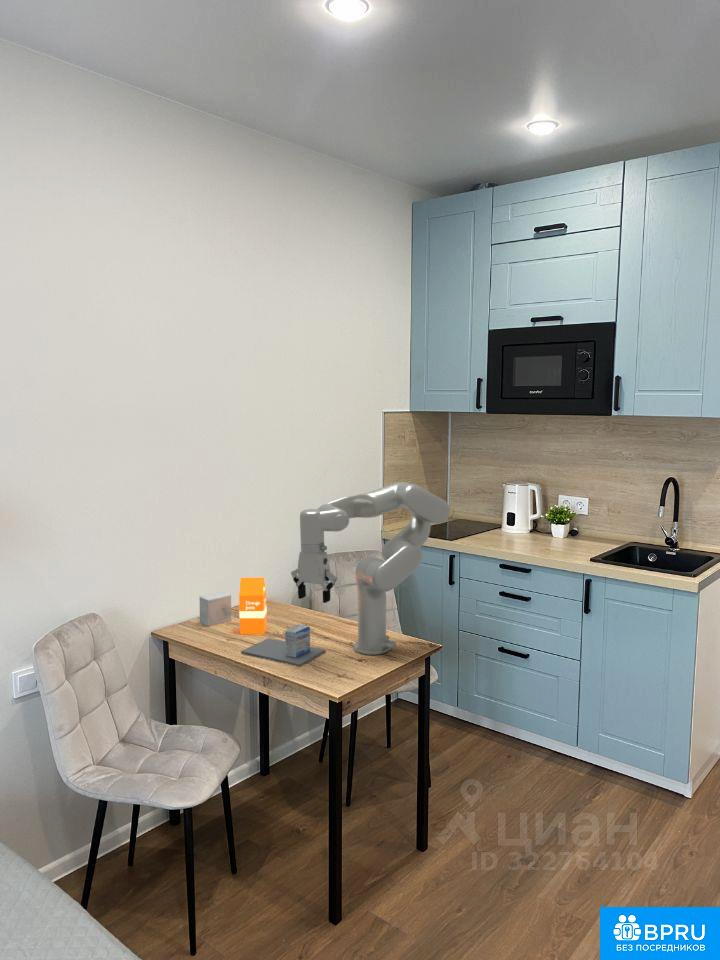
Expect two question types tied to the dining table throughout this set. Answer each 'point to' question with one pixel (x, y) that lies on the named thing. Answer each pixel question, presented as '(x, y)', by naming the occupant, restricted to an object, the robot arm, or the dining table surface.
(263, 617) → the orange juice
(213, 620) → the skincare box
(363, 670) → the dining table surface
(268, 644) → the mat
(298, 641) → the medicine box
